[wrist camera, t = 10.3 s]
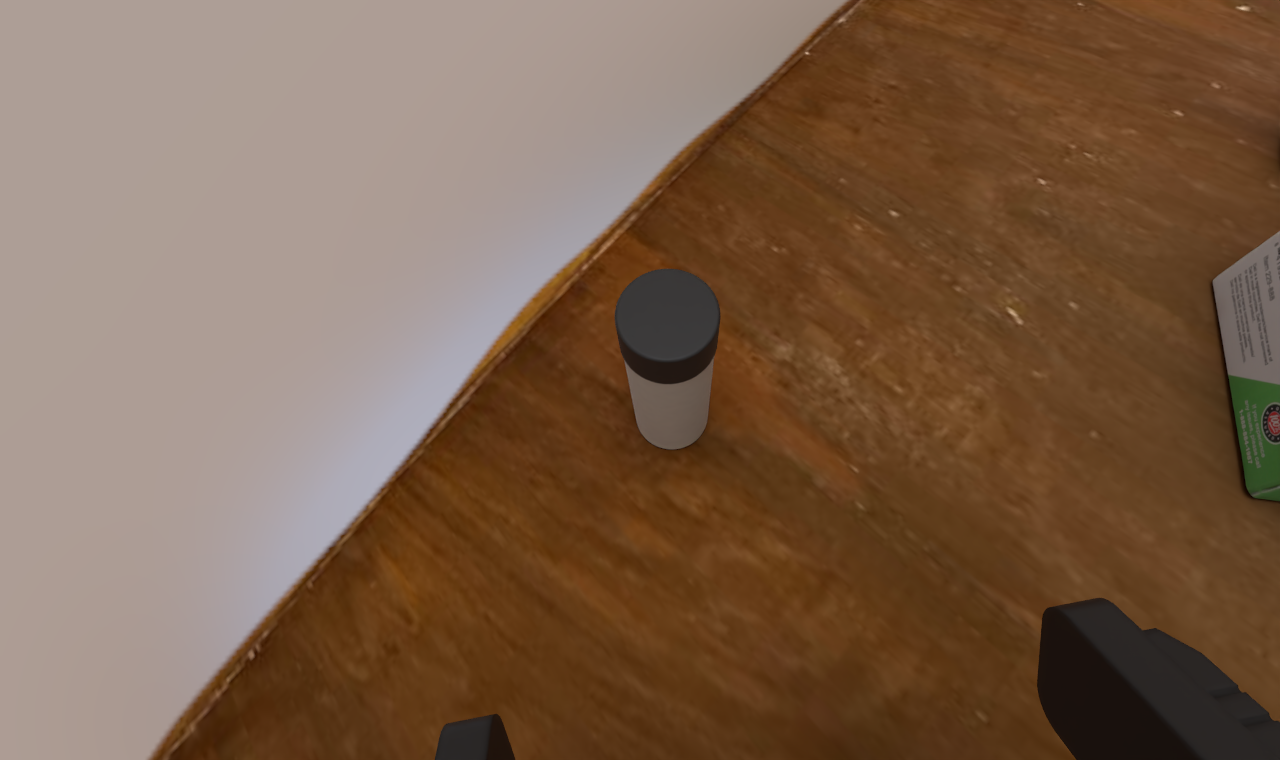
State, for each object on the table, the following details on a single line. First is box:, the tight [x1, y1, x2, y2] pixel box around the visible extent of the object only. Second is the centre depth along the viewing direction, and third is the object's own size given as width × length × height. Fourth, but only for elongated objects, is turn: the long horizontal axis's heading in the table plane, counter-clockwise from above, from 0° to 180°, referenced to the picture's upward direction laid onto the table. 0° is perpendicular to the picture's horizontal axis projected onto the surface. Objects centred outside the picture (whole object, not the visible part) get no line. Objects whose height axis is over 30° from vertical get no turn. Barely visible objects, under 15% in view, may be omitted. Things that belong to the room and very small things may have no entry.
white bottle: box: [615, 269, 720, 449], centre depth 21 cm, size 3×3×8 cm
